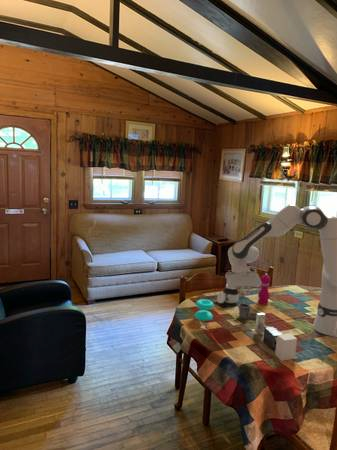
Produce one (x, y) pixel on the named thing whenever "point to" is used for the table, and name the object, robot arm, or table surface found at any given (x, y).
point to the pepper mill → (264, 290)
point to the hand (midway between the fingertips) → (247, 294)
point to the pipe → (246, 311)
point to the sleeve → (270, 337)
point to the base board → (259, 340)
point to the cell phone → (204, 327)
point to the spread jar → (228, 296)
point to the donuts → (202, 313)
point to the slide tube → (261, 324)
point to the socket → (286, 346)
